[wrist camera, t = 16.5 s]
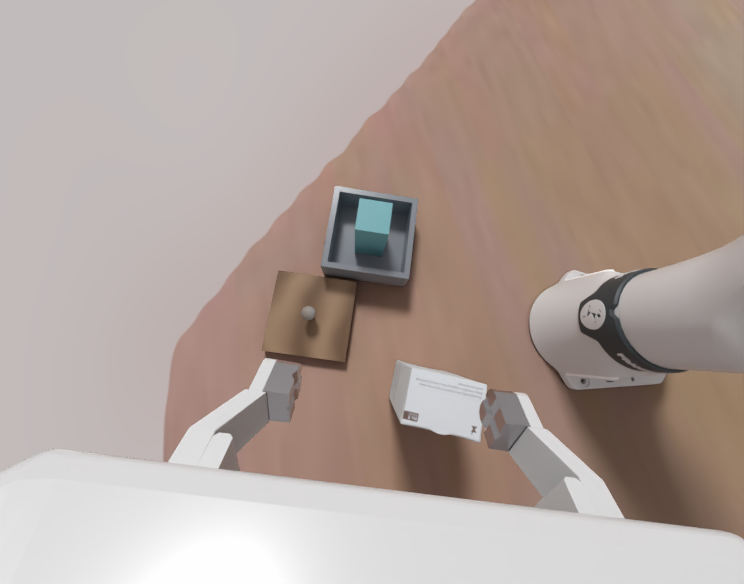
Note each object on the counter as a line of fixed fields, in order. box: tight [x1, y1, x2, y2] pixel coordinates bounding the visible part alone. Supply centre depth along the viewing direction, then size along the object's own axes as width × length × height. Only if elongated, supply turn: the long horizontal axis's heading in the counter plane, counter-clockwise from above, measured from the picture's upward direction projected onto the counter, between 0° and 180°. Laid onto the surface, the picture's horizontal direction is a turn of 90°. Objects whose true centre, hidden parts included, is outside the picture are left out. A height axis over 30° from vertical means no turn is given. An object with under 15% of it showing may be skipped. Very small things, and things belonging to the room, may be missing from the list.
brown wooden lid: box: [262, 271, 357, 362], centre depth 42 cm, size 12×12×5 cm
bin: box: [321, 186, 418, 287], centre depth 44 cm, size 13×13×5 cm
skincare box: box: [389, 360, 487, 442], centre depth 36 cm, size 8×6×15 cm
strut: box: [355, 198, 393, 257], centre depth 42 cm, size 4×4×9 cm
